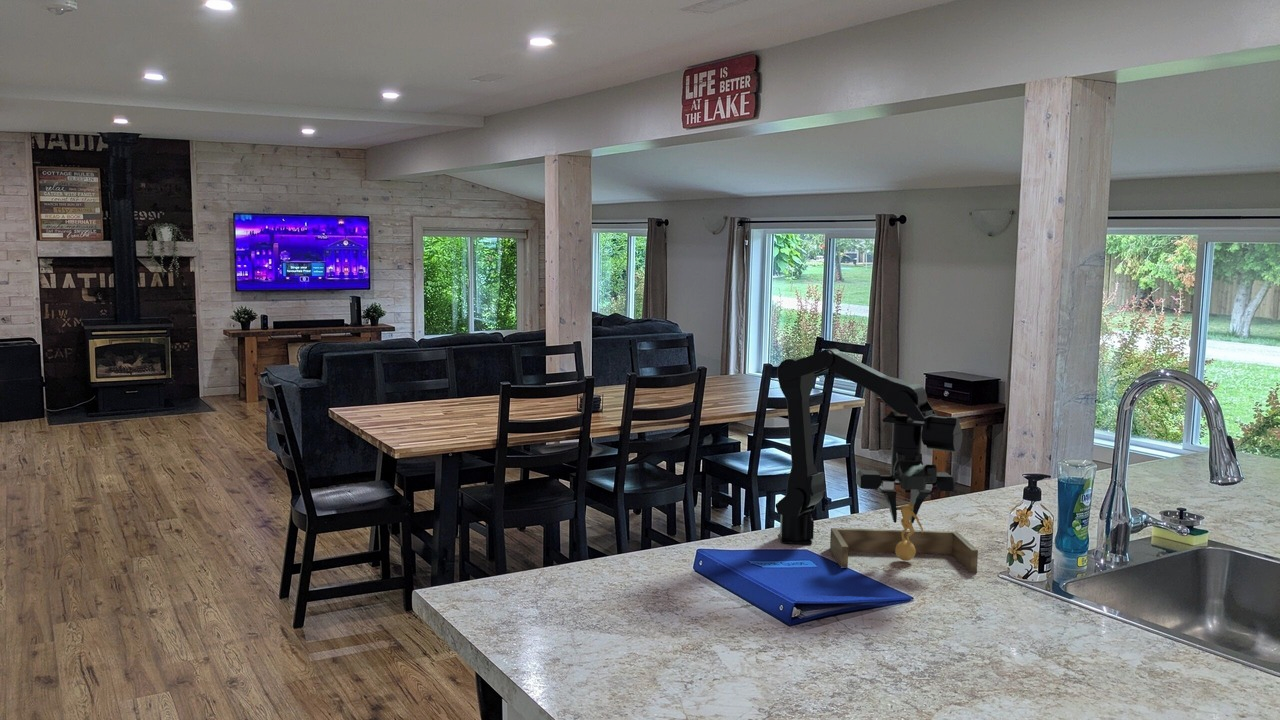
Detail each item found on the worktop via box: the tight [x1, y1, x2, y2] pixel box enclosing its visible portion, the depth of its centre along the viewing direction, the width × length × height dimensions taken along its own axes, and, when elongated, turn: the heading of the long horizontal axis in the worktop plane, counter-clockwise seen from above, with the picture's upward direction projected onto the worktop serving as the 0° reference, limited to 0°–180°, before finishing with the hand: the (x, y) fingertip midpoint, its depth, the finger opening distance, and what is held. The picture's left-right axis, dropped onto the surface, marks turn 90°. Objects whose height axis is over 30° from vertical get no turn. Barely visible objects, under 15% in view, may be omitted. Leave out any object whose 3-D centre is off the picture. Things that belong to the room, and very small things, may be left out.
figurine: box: [894, 502, 924, 562], centre depth 195 cm, size 8×6×12 cm
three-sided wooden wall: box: [829, 527, 979, 574], centre depth 197 cm, size 26×14×4 cm, turn 88°
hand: (903, 522), depth 195 cm, fingers closed on figurine, 3 cm apart
